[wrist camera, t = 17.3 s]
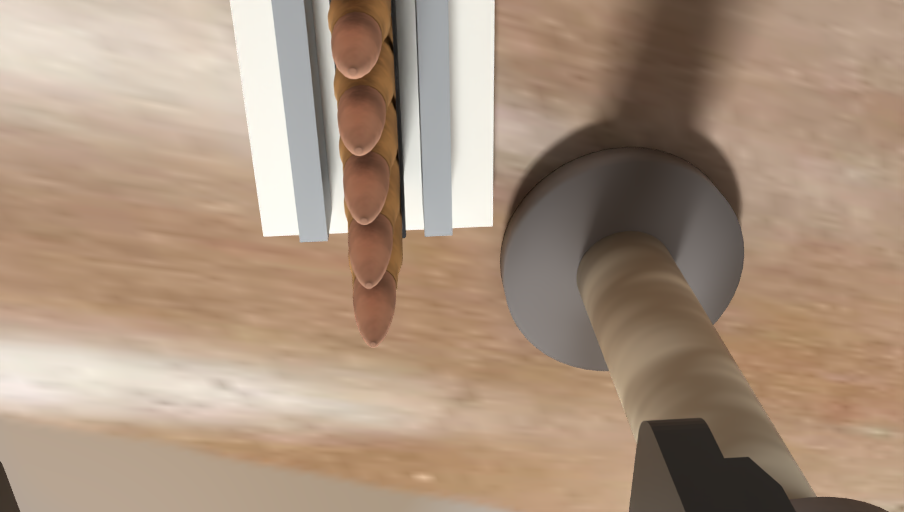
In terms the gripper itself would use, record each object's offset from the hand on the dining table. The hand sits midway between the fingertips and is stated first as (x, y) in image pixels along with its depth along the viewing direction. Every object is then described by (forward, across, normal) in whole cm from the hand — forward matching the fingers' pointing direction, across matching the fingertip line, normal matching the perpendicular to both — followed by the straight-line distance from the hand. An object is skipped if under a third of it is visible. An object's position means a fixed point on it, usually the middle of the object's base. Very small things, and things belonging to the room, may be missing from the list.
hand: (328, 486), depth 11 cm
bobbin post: (+23, -10, +10) cm, 27 cm away
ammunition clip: (+22, 0, 0) cm, 22 cm away
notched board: (+23, 0, 0) cm, 23 cm away
